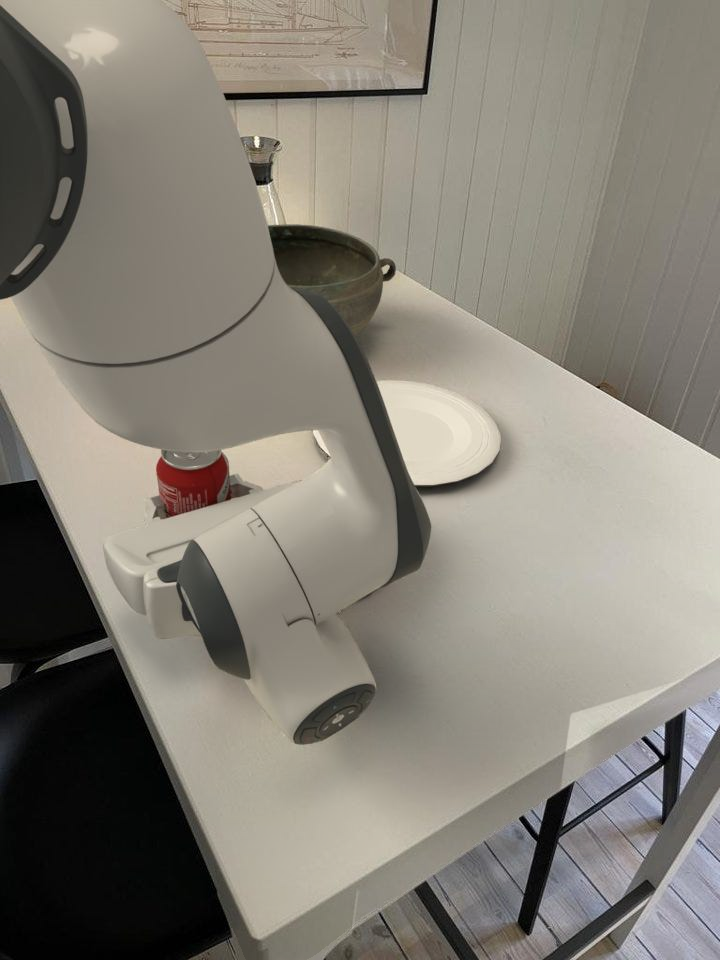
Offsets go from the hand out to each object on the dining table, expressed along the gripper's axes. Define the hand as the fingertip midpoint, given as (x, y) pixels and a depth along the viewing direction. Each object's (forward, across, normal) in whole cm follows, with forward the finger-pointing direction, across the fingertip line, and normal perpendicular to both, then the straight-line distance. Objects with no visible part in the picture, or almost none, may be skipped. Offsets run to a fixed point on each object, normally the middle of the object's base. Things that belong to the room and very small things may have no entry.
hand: (191, 491), depth 74 cm
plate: (+10, -33, +9) cm, 35 cm away
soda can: (-1, 0, +7) cm, 7 cm away
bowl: (+40, -32, +9) cm, 52 cm away
